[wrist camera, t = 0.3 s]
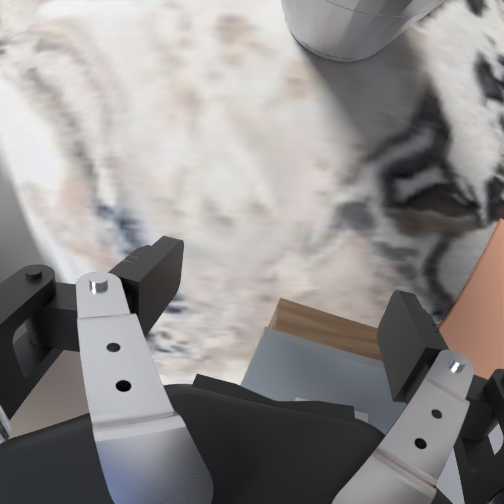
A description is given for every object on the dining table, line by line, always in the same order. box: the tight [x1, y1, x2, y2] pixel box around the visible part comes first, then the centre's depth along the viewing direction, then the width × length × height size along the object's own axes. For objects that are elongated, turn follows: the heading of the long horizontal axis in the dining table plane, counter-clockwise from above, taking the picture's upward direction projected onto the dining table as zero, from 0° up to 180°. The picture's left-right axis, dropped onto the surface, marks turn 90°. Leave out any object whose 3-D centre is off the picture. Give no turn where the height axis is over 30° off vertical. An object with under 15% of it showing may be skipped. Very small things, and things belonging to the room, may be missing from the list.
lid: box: [240, 327, 406, 434], centre depth 29 cm, size 16×19×6 cm
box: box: [268, 298, 383, 361], centre depth 33 cm, size 15×17×6 cm
